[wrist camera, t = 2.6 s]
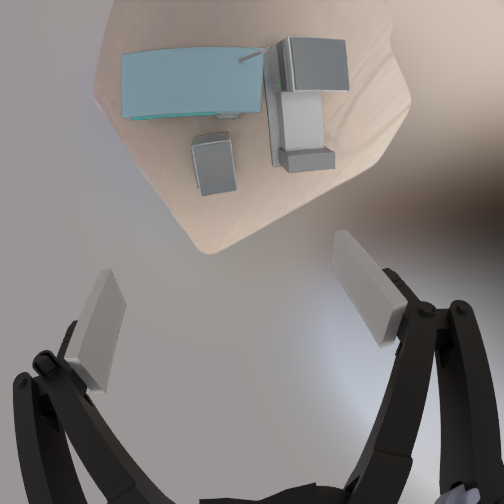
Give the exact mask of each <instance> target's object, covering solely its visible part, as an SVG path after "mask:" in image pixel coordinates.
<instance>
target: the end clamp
mask: <svg viewBox="0 0 504 504" xmlns="http://www.w3.org/2000/svg"><path fill="white" fill-rule="evenodd" d="M278 155H279V164H281V165H282V166H283V167H284V168H285V169H286V170H287V172H288V173H295V172H304V171H314V170H325V169H335V152H334V151H332V150H330V149H328V148H326V147H324V148H321V149H308V150H296V151H285V150H283V149H282V148H278Z"/></svg>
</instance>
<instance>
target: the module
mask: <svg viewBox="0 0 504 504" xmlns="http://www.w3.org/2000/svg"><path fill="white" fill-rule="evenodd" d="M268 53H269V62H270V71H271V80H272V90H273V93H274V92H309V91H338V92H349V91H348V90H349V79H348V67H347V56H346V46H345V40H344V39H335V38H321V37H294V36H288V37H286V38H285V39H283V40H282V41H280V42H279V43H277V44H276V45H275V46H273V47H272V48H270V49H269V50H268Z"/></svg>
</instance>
